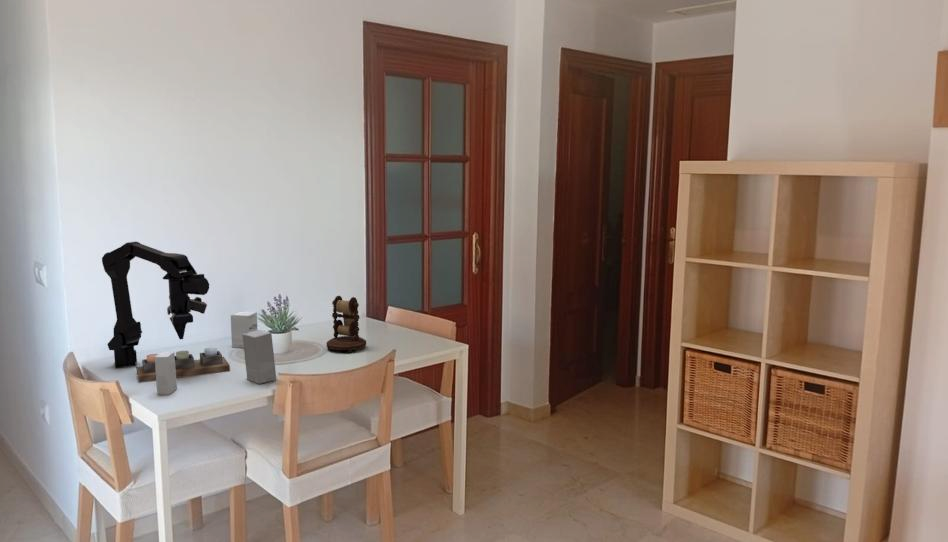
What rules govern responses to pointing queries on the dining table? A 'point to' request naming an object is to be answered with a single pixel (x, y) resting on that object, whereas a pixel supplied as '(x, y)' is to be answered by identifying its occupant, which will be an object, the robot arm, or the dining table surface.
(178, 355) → the sage button
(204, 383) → the dining table surface
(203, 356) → the button panel
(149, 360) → the terracotta button
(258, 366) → the skincare box
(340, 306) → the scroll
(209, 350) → the slate button
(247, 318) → the supplement box
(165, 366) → the skincare box
